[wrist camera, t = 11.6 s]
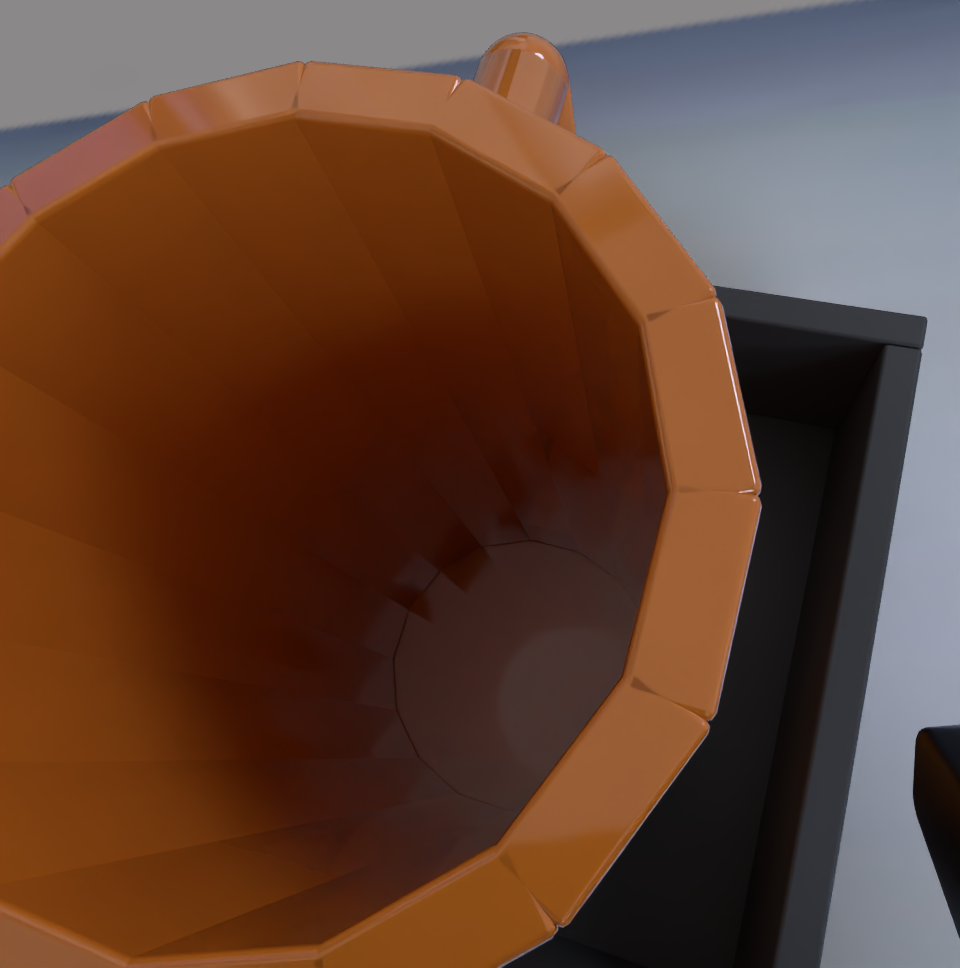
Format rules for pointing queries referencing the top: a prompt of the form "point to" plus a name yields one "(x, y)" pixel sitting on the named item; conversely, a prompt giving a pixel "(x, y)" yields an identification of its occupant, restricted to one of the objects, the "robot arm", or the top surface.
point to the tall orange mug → (350, 522)
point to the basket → (775, 660)
